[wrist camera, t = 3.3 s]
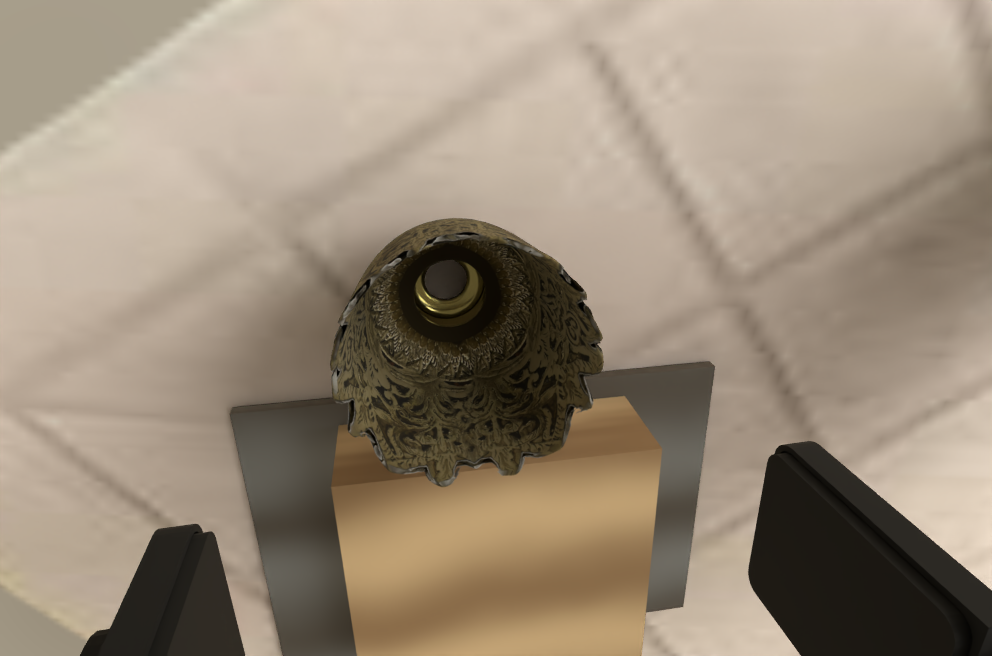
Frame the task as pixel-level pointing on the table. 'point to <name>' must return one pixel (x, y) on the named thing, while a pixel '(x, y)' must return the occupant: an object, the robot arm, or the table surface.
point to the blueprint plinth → (311, 515)
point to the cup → (464, 353)
